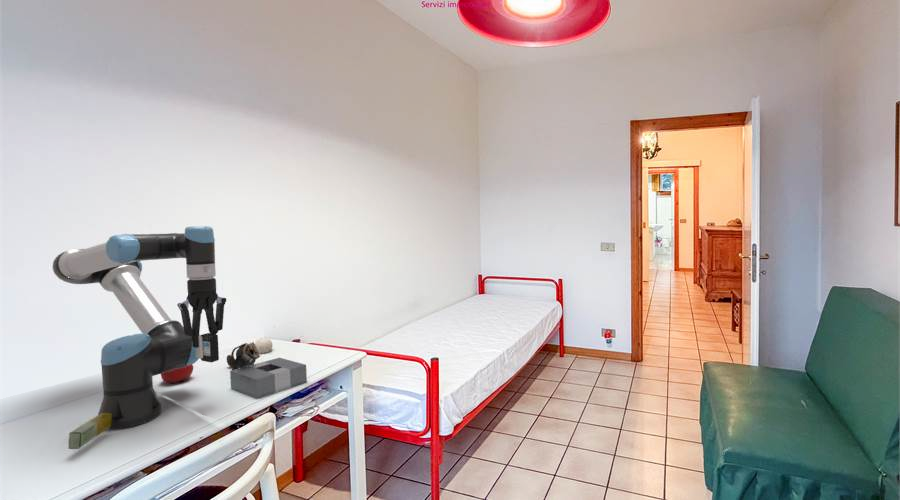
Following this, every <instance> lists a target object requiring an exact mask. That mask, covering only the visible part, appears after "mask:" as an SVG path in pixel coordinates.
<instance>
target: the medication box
mask: <svg viewBox="0 0 900 500" xmlns="http://www.w3.org/2000/svg"><path fill="white" fill-rule="evenodd" d="M111 416H112V414H111V413H101V414H100V415H98V414H97V415H96V416H95V417H92V418H91V419H90V420H88V421H86V422H85V423H84V424H82V425H80V426H79V427H76V428H75V429H74V430H72V431H71V432H69V433H68V435H69V436H68V449H70V450H80V448H82V447H83V446H84V445H86V444H88V443H90V441H92V440H94V438H96V437H99V436H100V435H101V434H102V433H104V432H105V431H107V430H109V429H108V428H110V427H111Z"/></svg>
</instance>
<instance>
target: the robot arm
mask: <svg viewBox="0 0 900 500" xmlns="http://www.w3.org/2000/svg"><path fill="white" fill-rule="evenodd" d="M215 244H216V243H215V234H214V229H213V227H212V226H202V225H201V226H186V227H185V228H184V232H183V233H182V232H181V233H177V232H174V233H149V234H148V233H147V234H145V233H143V234H141V233H139V234H134V233H133V234H129V233H124V234H123V233H122V234H114V235H112V236H110V237H109V238H108V240H107V241H106V242H103V243H100V244H97V245H94V246H90V247H86V248H74V249H73V248H72V249H69V250H65V251H63V252H61V253H59V254H58V255H57V256H56V257H55V258H54V260H53V263H52V271H53V274H54V275H55V276H56V277H57V278H58V279H59V280H61V281H63V282H65V283H68V284H73V285H87V284H89V285H90V284H100V286H101V287H102V288H103V289H104V290H105V291H107V292H111V293H113V295H114V296H115V297H116V299H117V300H118V302H119V303H120V304H121V306H122V307H123V308H124V310H125V311H126V313H127V314H128V315H129V317H130V318H131V319H132V321H133V322H134V325H136V326H137V328H138V330H139V331H140V332H141V333H135V334H132V335H125V336H122V337H118V338H115V339H113V340H111V341H108V342H107V343H105V345H104V346H102V348H101V352H100V353H101V355H100V356H101V357H100V365H101V375H102V388H103V389H102V390H103V397H102V401H101V404H100V407H99V411H98V413H97V416H98V415H100V414H101V413H111V414H112V416H111V427H110V428H108V429H107V430H117V429H118V430H119V429H124V428H131V427H133V426H137V425H141V424H144V423H146V422H150V421H152V420H154V419H155V418H157V417H158V416H160V415H161V414H162V404H161V401H160V399H159V397H158V396H157V394H156V391H155V389H154V386H153V385H154V382H153V376H158V375H161V373H165V372H168V371H172V370H175V369H179V368H184V367H186V366H188V365H191V364H192V365H193V364H195V363H197V362H198V360H199V359H200V360H201V359H202V358H203V346H202V336H200V335H201V334H200V331H201V330H200V329H201V320H202V319H201V318H202V317H201V316H202V313H203V311H204V312H205V316H206V322H207V329H208V333H211V334H216V335H218V333H219V331H222V330H223V327H224V312H225V305H226V302H227V298H226V297H222V296H219V295H218V293H217V279H216V278H215V277H216V275H217V273H216V253H215V252H216V250H215V248H216V247H215ZM168 259H185V260H186V261H185V262H186V263H185V264H186V266H185V267H186V278H188V280H187V281H186V285H187V296H186V299H185V300H184V301H183V302H179V303H177V307H178V309H179V310H180V315H181V321H182V323H181V322H180V321H178V320H176V319H175V320H174V319H171V317H170V316H169V315H168V314H167V312H166V311H165V310H164V308H163V307H162V306H161V304H160V303H159V302H158V300H157V299H156V298H155V297H154V295H153V294H152V293H151V291H150V290H149V289H148V287H147V286H146V284H144V282H143V281H142V279H141V275H142V274H141V273H142V270H143V264H142V262H141V261H154V260H168ZM68 277H69V278H68ZM215 303H216V306H215V309H214V304H215ZM189 305H190V306H191V308H192V311H191V312H192V320H191V317H190V316H191V315H190V311H189V307H190V306H189ZM214 311H215V313H214ZM191 321H192V322H191Z"/></svg>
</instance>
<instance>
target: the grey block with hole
mask: <svg viewBox="0 0 900 500" xmlns="http://www.w3.org/2000/svg"><path fill="white" fill-rule="evenodd" d="M229 372H230V373H229V374H230V377H229V378H230V390H234V391H236V392H239V393H241V394H243V395H247V396H249V397H252V398H254V399H257V400H258V399H261V398H262V397H266V396H270V395H272V394H276V393H278V392H281V391H284V390H287V389H290V388H293V387H297V386H299V385H302V384H305V383H307V381H308V377H307V376H308V375H307V364H305V363H301V362H298V361H294V360H291V359H287V358H282V357H277V358H273V359H268V360H265V361H262V362H258V363H254V365H250V366H246V367H242V368H239V369H235V370H232V369H231V370H229Z"/></svg>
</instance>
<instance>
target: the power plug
mask: <svg viewBox="0 0 900 500" xmlns="http://www.w3.org/2000/svg"><path fill="white" fill-rule="evenodd" d="M255 359H256V358H255V357H254V356H253V355H252V354H251V353H245V354H241V355H238V356H237V357H236V356H235V361H234V365H233V368H232V367H231V368H232V369H231V370H235V369H239V368H242V367H246V366H250V365H254V364H256V360H257V359H256V360H255Z"/></svg>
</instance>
